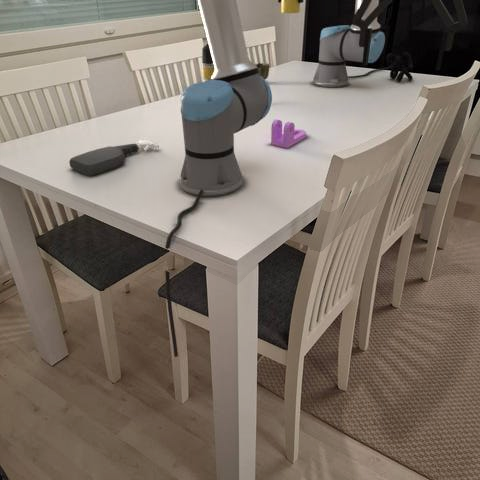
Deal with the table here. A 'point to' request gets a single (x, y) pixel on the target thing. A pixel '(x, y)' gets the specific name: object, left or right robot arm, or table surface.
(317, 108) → the table surface
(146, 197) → the table surface
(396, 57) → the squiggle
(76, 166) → the spray bottle
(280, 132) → the bracket
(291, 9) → the canister
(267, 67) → the cup
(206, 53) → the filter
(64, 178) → the table surface
